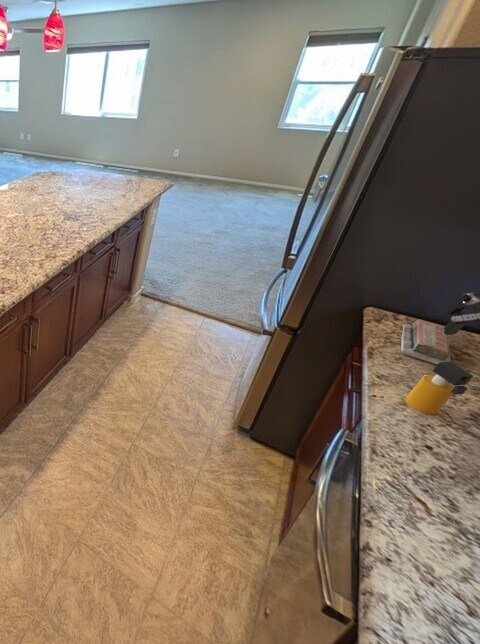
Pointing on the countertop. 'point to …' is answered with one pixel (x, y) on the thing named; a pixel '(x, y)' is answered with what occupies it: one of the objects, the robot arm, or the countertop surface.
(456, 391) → the trigger
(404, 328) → the packaged product
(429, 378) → the spray bottle
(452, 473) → the countertop surface
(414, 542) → the countertop surface
